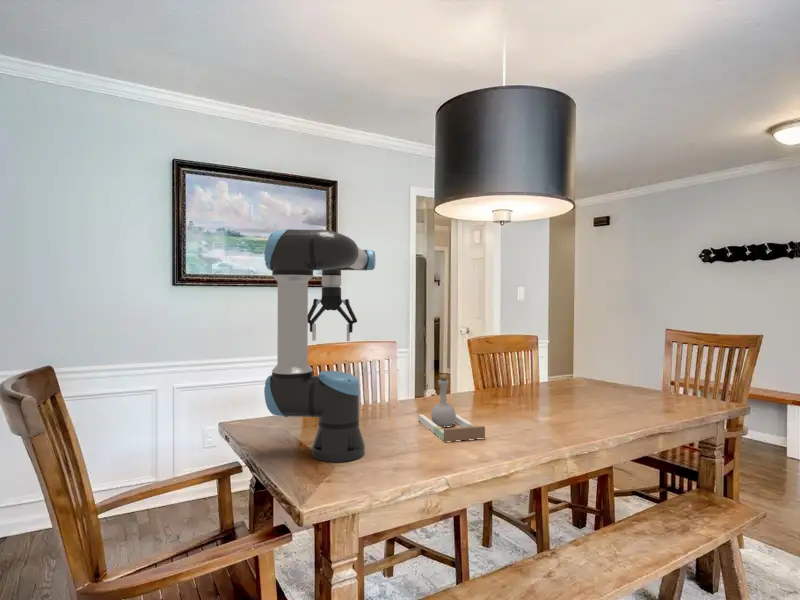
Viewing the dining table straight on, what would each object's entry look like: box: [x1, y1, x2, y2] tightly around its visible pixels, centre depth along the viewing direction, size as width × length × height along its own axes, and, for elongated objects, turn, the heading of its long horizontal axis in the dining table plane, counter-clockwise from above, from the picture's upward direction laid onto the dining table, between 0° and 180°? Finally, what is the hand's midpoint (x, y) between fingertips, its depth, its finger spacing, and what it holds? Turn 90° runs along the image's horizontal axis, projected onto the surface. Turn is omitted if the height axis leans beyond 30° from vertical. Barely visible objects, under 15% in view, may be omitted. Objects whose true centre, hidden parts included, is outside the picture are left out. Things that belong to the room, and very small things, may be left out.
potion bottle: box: [430, 373, 457, 427], centre depth 171 cm, size 9×9×18 cm
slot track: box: [418, 413, 486, 443], centre depth 165 cm, size 26×14×4 cm, turn 16°
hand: (331, 340), depth 189 cm, fingers open, 13 cm apart
